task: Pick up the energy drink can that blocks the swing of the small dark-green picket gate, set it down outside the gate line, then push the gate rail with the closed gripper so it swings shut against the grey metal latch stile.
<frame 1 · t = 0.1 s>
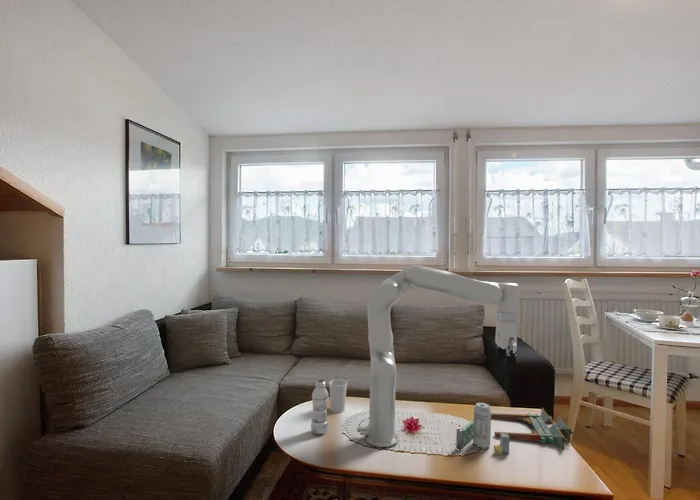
hand: (506, 362, 146), 31 cm above the table, fingers open, 9 cm apart
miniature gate: (530, 432, 160), on the table
gate: (468, 432, 150), point 3 cm above the table, hinge at 55.0°
hinge post: (459, 449, 144), on the table
cup: (337, 410, 176), on the table
plastic bottle: (319, 433, 154), on the table
latch stile: (504, 451, 143), on the table
energy drink can: (481, 445, 147), on the table
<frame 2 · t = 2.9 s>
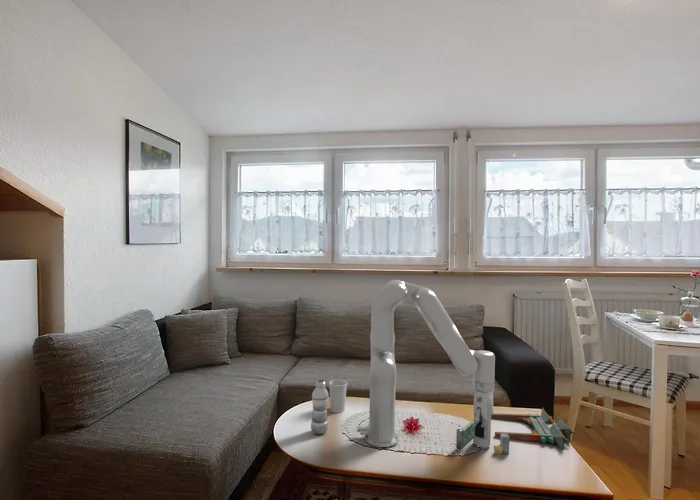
hand: (482, 432, 147), 5 cm above the table, fingers closed on energy drink can, 6 cm apart
energy drink can: (481, 445, 147), on the table, touching gripper
everything else where it was.
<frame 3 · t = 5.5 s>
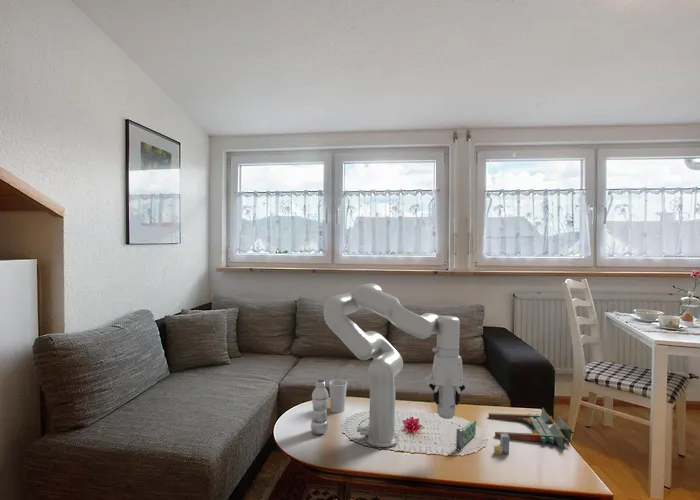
hand: (446, 402, 139), 19 cm above the table, fingers closed on energy drink can, 6 cm apart
energy drink can: (445, 416, 139), point 14 cm above the table, touching gripper
everything else where it was.
when the fingers open (6 cm above the table, at t = 8.1 s): energy drink can drops 2 cm, on the table.
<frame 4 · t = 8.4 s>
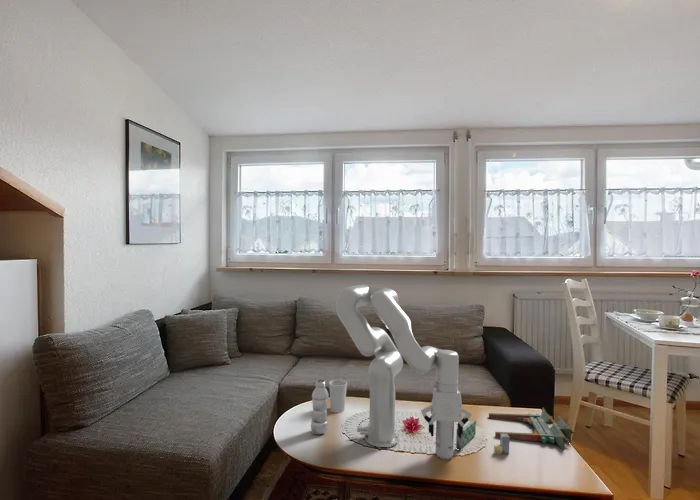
hand: (445, 435, 139), 7 cm above the table, fingers open, 9 cm apart
energy drink can: (444, 456, 139), on the table
everything else where it was.
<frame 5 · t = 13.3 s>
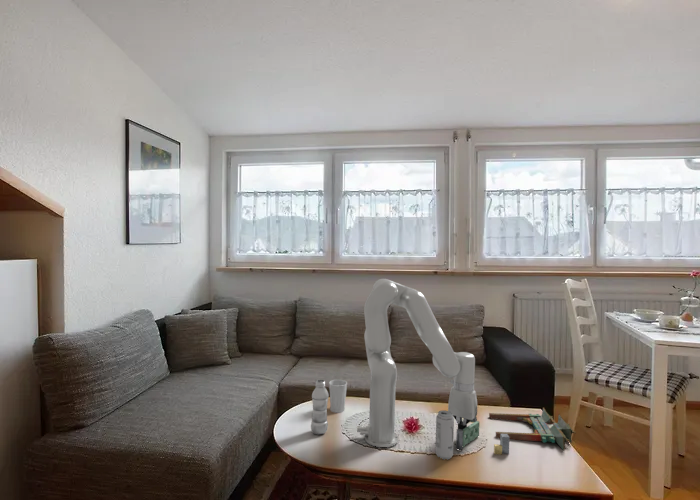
hand: (462, 433, 151), 2 cm above the table, fingers closed
gate: (470, 433, 149), point 3 cm above the table, hinge at 48.9°, touching gripper
everything else where it was.
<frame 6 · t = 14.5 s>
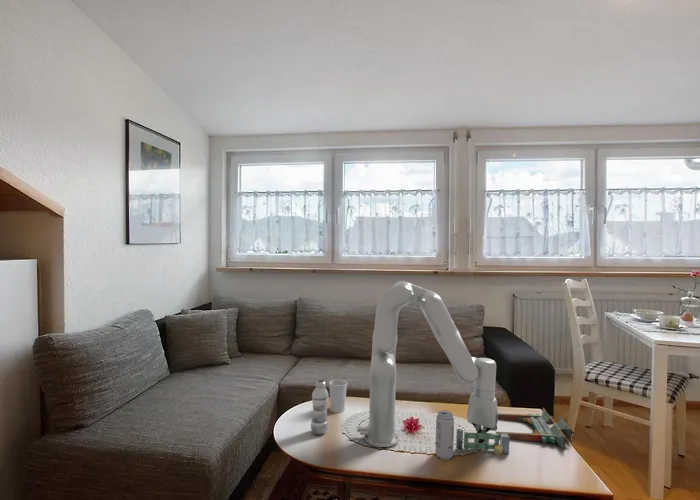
hand: (481, 441, 147), 2 cm above the table, fingers closed
gate: (481, 441, 144), point 3 cm above the table, hinge at 2.0°
everything else where it was.
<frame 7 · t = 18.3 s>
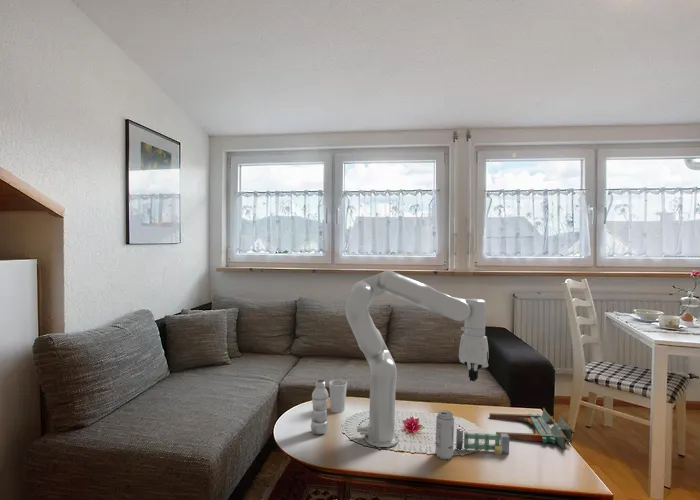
hand: (473, 380, 150), 23 cm above the table, fingers closed
gate: (481, 441, 143), point 3 cm above the table, hinge at -0.2°
everything else where it was.
at the end: gate at +0° (first picture: +55°); energy drink can inside the target area (0.2 cm from its centre), on the table; energy drink can tilted 0° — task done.
